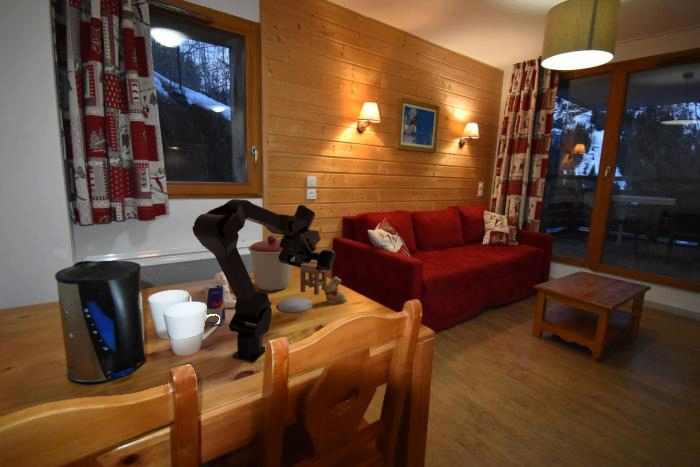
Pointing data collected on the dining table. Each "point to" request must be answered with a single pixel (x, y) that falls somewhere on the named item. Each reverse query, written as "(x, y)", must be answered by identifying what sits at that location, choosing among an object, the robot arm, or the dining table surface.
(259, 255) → the canister
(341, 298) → the chocolate bunny
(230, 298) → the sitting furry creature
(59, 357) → the dining table surface
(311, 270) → the stool
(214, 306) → the energy drink
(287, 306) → the mat
